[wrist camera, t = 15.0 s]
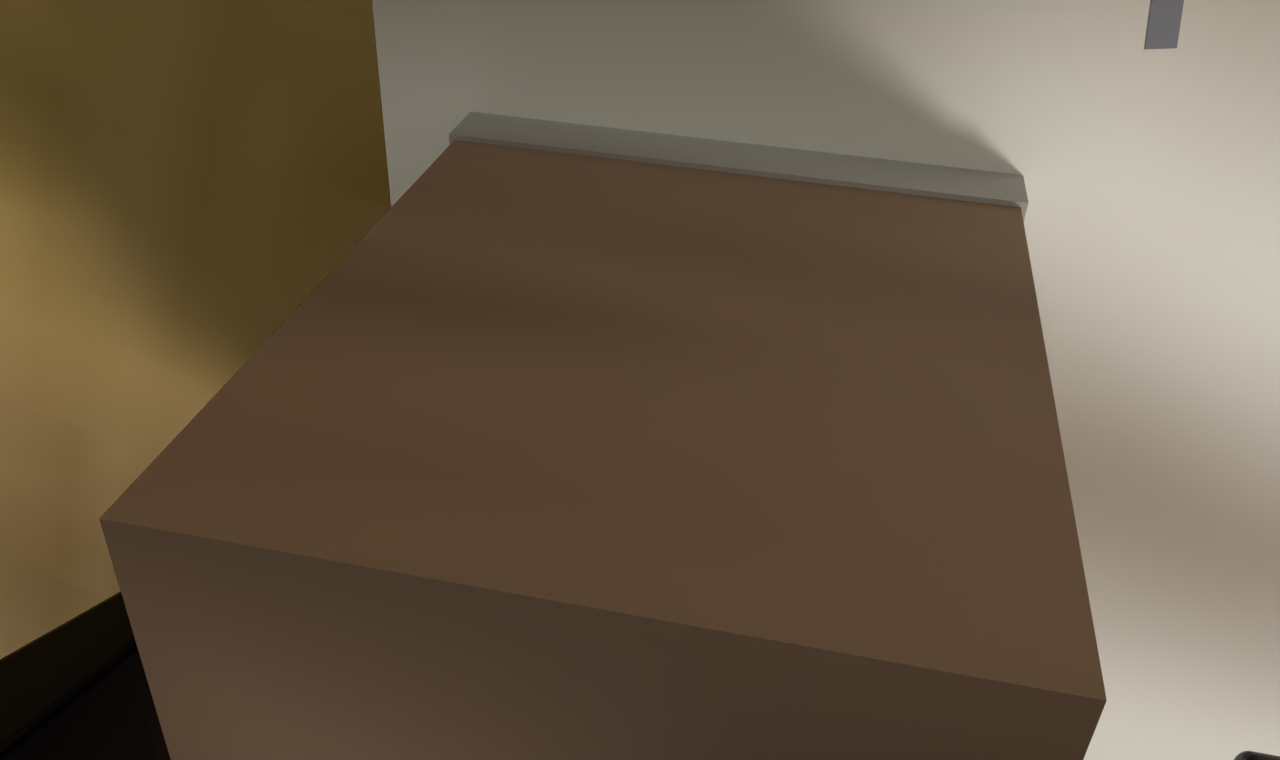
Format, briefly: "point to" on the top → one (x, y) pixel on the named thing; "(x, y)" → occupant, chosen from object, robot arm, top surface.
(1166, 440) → the birch board
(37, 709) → the robot arm
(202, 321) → the top surface
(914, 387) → the block
